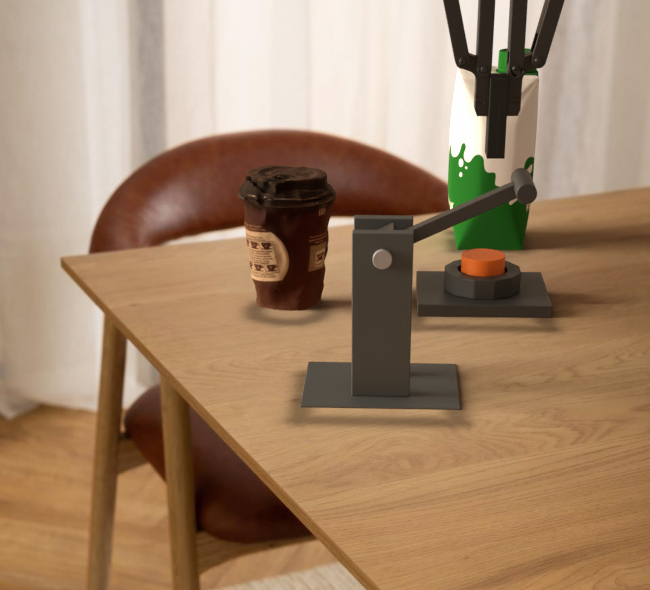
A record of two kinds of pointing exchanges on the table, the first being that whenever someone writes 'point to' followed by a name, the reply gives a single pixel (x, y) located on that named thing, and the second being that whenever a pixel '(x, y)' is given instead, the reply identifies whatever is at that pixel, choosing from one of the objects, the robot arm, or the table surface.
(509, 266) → the control block
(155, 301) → the table surface
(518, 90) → the robot arm
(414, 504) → the table surface
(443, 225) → the switch lever
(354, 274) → the upright post stand
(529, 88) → the milk carton
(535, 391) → the table surface
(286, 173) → the coffee cup
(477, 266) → the button
